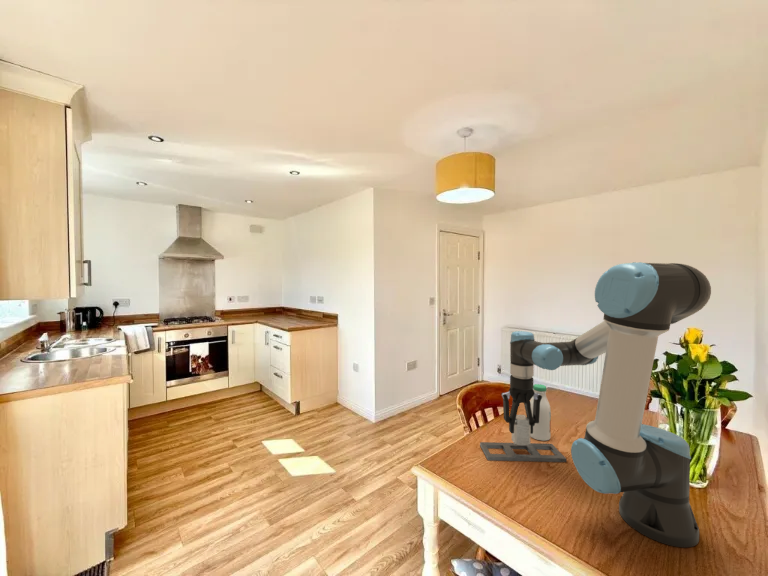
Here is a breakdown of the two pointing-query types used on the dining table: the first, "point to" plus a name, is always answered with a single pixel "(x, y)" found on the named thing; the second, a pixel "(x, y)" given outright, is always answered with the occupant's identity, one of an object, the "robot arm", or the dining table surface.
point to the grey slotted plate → (520, 457)
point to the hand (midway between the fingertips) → (520, 441)
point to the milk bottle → (542, 415)
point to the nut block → (522, 430)
